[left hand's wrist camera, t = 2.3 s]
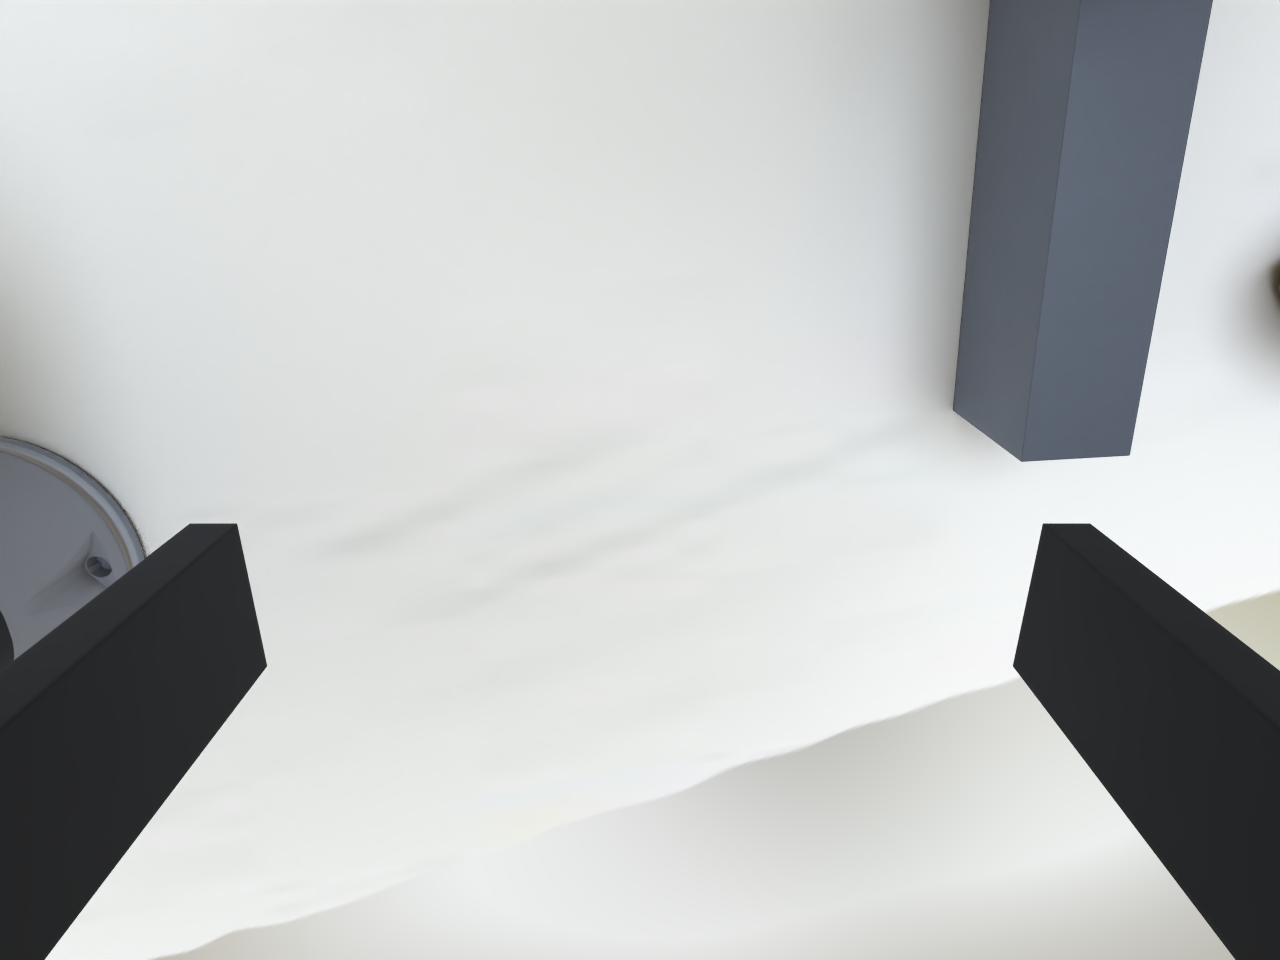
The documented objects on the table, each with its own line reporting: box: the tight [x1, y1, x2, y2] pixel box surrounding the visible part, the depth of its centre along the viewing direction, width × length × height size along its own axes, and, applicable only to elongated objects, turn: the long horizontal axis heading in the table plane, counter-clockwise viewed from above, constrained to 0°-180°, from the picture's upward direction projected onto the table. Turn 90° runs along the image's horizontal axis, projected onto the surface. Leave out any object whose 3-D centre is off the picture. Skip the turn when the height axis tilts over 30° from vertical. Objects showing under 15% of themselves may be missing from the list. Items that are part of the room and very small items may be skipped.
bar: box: [953, 0, 1213, 462], centre depth 35 cm, size 27×5×8 cm, turn 4°
